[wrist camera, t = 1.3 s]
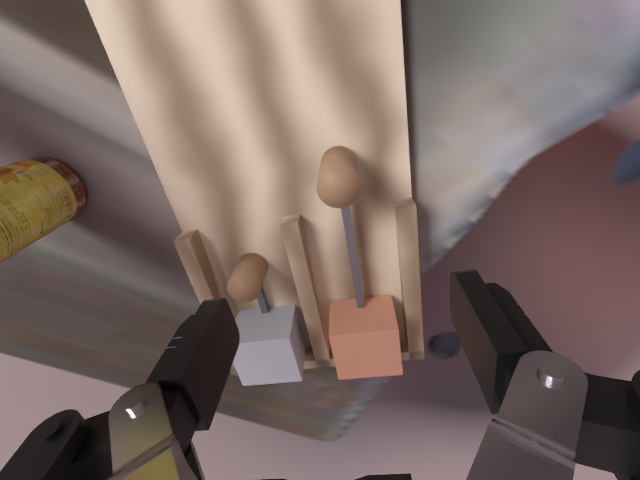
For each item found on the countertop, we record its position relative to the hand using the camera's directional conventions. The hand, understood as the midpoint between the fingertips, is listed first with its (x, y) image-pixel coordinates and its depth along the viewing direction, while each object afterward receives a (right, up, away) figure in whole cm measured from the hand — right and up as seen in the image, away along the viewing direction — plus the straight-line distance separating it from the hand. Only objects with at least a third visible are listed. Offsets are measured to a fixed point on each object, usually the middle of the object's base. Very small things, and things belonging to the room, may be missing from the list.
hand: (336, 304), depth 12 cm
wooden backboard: (-4, +7, +19) cm, 21 cm away
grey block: (-6, -5, +24) cm, 25 cm away
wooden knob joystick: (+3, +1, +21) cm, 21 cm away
